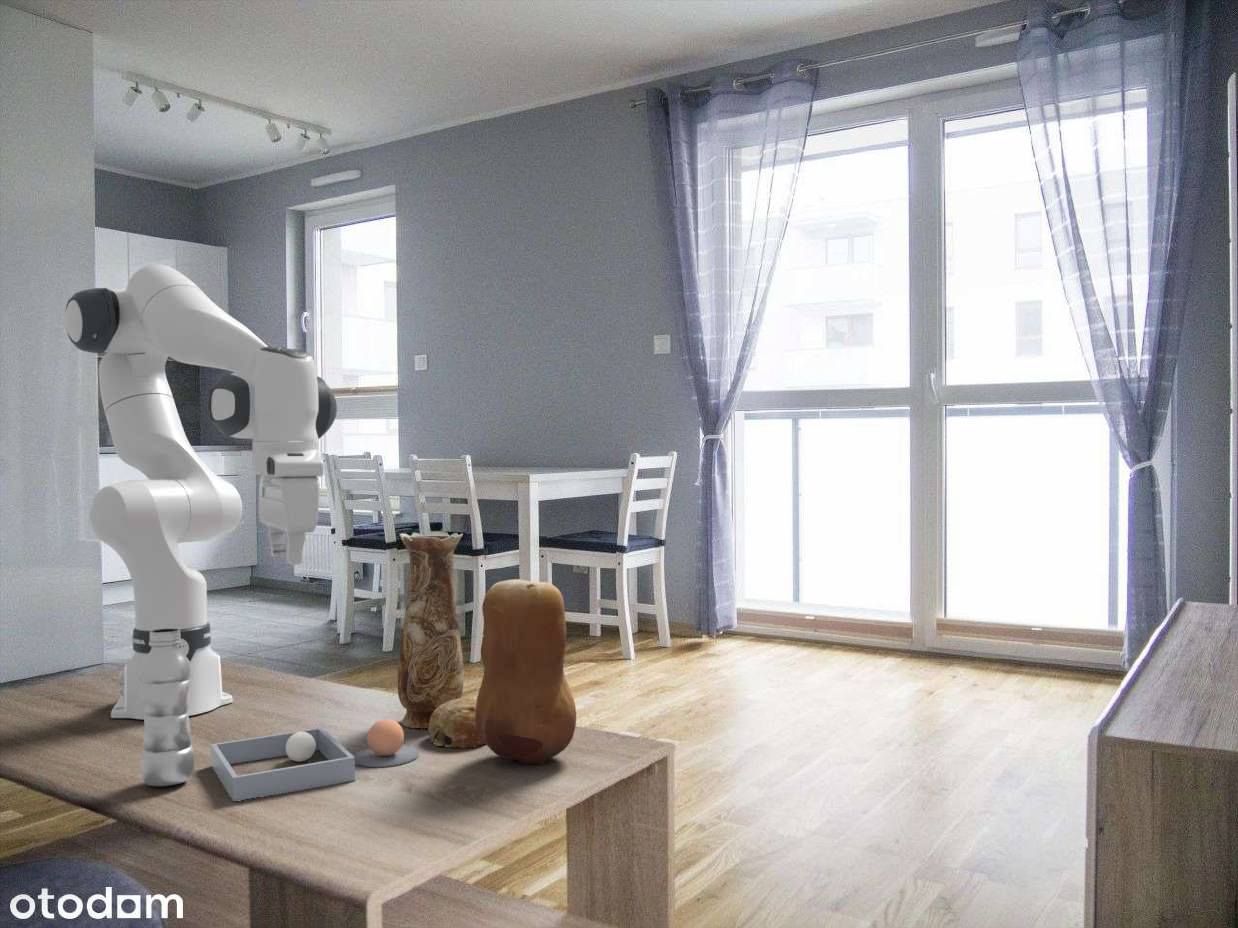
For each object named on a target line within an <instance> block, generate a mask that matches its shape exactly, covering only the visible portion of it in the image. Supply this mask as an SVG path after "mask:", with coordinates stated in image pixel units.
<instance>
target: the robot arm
mask: <svg viewBox="0 0 1238 928" xmlns="http://www.w3.org/2000/svg"><path fill="white" fill-rule="evenodd" d="M64 313H65V314H64V322H65V328H66V333H67V335H68V336H67V337H68V338H69V340H70V342H71V343H72V344H73V345H74V346H75V347H76V348H77V349H78V350H80V351H82V352H87V353H92V354H98V355H99V354H100V355H101V354H104V353H106V354H104V356H102V357H101V359H100V362H99V365H98V377H99V378H98V380H99V381H98V382H99V390H100V391H99V392H100V398H101V403H102V407H103V410H104V415H105V418H106V422H107V425H108V429H109V432H110V433H109V434H110V436H111V437H110V438H111V440H112V443H113V447H114V450H115V453H116V455H117V457H119V459H120V460H121V461H123V462H124V463H125V464H127V465H128V466H130V467H132V468H135V469H136V470H138V471H139V472H140V473H142V474H143V475H144V476H145V477H146V478H147V479H132V480H127V481H123V482H118V483H113V484H111V485H107V486H104V487H102V488H101V489H100V490H99V491H98V492H97V493H96V494H95V496H94V498H93V499H92V502H91V505H90V508H89V523H90V526H91V528H92V530H93V532H94V534H95V536H96V537H97V538H98V539H99V540H100V541H101V542H102V543H104V544H105V545H107V546H108V547H110V548H111V549H112V550H114V551H115V552H116V553H117V555H118V556H119V557H120V559H121V560H122V561H123V563H124V564H125V567H126V568H127V570H128V573H129V575H130V579H131V584H132V588H133V597H134V600H133V601H134V611H135V613H134V615H135V617H134V619H135V627H134V629H132V637H131V641H132V650H133V651H134V653H133V656H132V657H131V658H130V660H128V661H127V664H125V665H124V669H122V670H121V671H120V672H119V677H118V678H119V679H118V682H119V684H118V685H119V686H124V687H123V688H121V690H120V697H119V698H118V700H117V702H116V703H115V705H114V706H113V708H112V709H111V712H110V718H112V719H114V718H115V719H135V720H144V716H145V715H144V711H143V700H142V695H141V689H140V683H139V682H140V681H139V676H138V672H139V669H140V666H141V664H142V663H143V661H144V659H145V658H146V656H147V655H148V654H149V652H150V651H151V648H152V646H149V642H150V631H152V630H156V629H163V628H178V629H180V639H181V644H179V648H180V649H181V651H182V652H183V653H184V654H185V655H186V657H187V658H188V660H189V661H190V663H191V666H192V676H191V678H192V679H191V687H190V695H189V709H188V712H189V717H190V716H195V715H199V714H203V713H206V712H210V711H212V710H214V709H216V708H218V707H221V706H224V705H227V704H230V703H233V702H234V700H233V695H231V694H229V693H226V692H224V691H223V684H222V683H223V682H222V681H223V679H222V668H221V667H222V666H221V656H220V655H219V654H218V653H216V652H215V651H214V650H213V649H212V648H211V646H210V644H211V643H212V642H211V639H212V638H211V636H212V629H211V624H210V623H209V622H208V595H207V594H208V591H207V590H208V589H207V588H208V585H207V580H206V579H205V577H204V575H203V574H202V573H201V572H200V571H199V570H198V569H195V568H194V567H192V566H189V565H187V564H186V563H185V562H184V561H183V559H182V557H181V555H180V550H179V547H178V546H179V545H178V544H181V543H193V542H202V541H205V542H206V541H210V540H212V539H217V538H219V537H222V536H224V535H228V534H230V533H232V532H234V530H235V529H236V528H238V525H239V523H240V521H241V519H242V515H243V502H242V498H241V495H240V493H239V491H238V490H237V488H236V487H235V486H234V485H233V484H231V483H230V482H229V481H226V480H225V479H223V478H221V477H220V476H218V474H216V473H215V472H213V471H212V470H211V469H210V468H209V467H208V466H207V465H206V463H205V462H204V461H203V460H202V459H201V458H200V456H199V455H198V454H197V452H196V451H195V450H194V448H193V447H192V445H191V443H190V441H189V440H188V437H187V435H186V433H185V430H184V427H183V425H182V421H181V418H180V415H179V412H178V409H177V407H176V402H175V398H174V396H173V393H172V390H171V387H170V385H169V381H168V379H167V375H166V364H167V360H168V358H169V359H171V360H172V361H173V362H176V363H183V364H187V365H193V366H200V367H205V368H206V367H207V368H213V369H220V370H225V371H229V372H230V371H231V372H233V373H227V374H225V375H223V376H222V377H221V378H219V379H218V380H217V381H216V382H215V384H214V385H213V387H212V388H211V391H210V394H209V399H208V401H209V402H208V410H209V416H210V419H211V422H212V423H213V424H214V426H215V427H216V429H217V430H218V431H220V433H221V434H223V435H224V436H226V437H231V438H235V439H247V440H249V439H250V440H252V475H257V476H260V479H259V488H258V489H259V490H258V491H259V492H258V518H259V519H258V520H259V522H260V523H261V524H264V525H266V526H267V527H268V529H267V530H268V531H267V532H268V538H269V542H270V555H271V557H274V558H285V562H286V563H287V564H289V565H291V566H294V565H301V564H302V563H303V550H304V549H303V548H304V544H305V541H306V533H314V532H315V530H316V527H317V525H318V521H319V520H318V519H319V518H318V517H319V509H320V506H319V505H320V489H321V487H320V486H321V484H320V479H319V477H320V478H321V477H323V476H324V474H325V471H324V470H325V467H324V466H325V465H324V461H323V459H322V458H321V457H320V451H319V445H320V444H319V442H320V441H319V440H320V438H322V437H323V436H325V434H326V433H328V431H329V430H330V428H331V427H332V426H333V424H334V422H335V420H336V417H337V414H338V413H337V412H338V407H337V401H336V397H335V395H334V393H333V391H332V389H331V388H330V386H329V385H328V384H327V382H326V381H325V380H324V379H323V378H322V377H320V376H318V373H317V368H316V364H315V361H314V358H313V356H312V355H310V353H308V352H306V351H304V350H300V349H297V348H296V349H295V348H287V347H279V346H274V345H273V344H272V343H270V342H269V341H268V340H266V339H265V338H264V337H263V336H261V334H260V335H259V334H258V333H257V332H255V331H253V330H252V329H251V328H249V327H248V326H246V325H244V324H243V323H242V322H240V321H239V320H237V319H235V318H234V317H232V316H231V315H230V314H228V312H226V311H225V310H223V309H222V308H221V307H220V306H218V305H217V304H216V303H215V302H214V301H213V300H211V299H210V298H209V296H208V295H206V294H205V293H204V291H203V290H202V289H201V287H199V286H197V284H196V283H195V282H193V281H192V280H191V279H190V278H188V277H187V276H186V275H185V274H183V273H181V272H180V271H178V270H177V269H175V268H173V267H171V266H169V265H165V264H159V263H158V264H157V263H154V264H149V265H146V266H143V267H141V268H139V269H138V270H137V271H135V272H134V273H133V275H131V277H130V278H129V280H128V283H127V286H126V287H125V288H123V287H122V288H119V287H118V288H107V287H94V288H89V289H84V290H80V291H77V292H76V293H74V294H73V295H72V296H71V297H70V298H69V300H67V303H66V306H65V312H64ZM285 533H286V540H287V545H286V540H285Z"/></svg>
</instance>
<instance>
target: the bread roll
mask: <svg viewBox="0 0 1238 928" xmlns="http://www.w3.org/2000/svg"><path fill="white" fill-rule="evenodd" d="M476 702H477V699H473V698H470V697H461V698H459V699H454V700H451V701H448V702H446V703H444V704H442V705H440V706H439V707H438V708H437V709H435V711H434V712H433V713H432V715H431V717H430V721H429V724H428V729H427V730H428V734H429V736H428V737H429V738H430V739H429V740H430V742H431V743H432V744H433V743H435V744H434V746H435V745H436V746H447V747H448V748H449V747H460V748H461V747H473V748H475V747H474V746H478V747H481V746H480V745H482V746H484V745H483V744H485V742H484V740H483V739H482V737H481V735H480V734H479V732H478V730H477V729H476V727H475V724H476V719H475V713H476ZM485 745H486V744H485ZM436 746H435V747H436Z"/></svg>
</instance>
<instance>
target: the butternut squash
mask: <svg viewBox="0 0 1238 928" xmlns="http://www.w3.org/2000/svg"><path fill="white" fill-rule="evenodd" d="M481 608H482V611H481V612H482V617H483V632H482V634H483V637H482V638H483V639H482V643H481V645H480V656H481V660H482V663H483V668H484V669H483V677H482V681H481V684H480V686H479V687H480V688H479V690H478V692H477V693H478V694H477V697H476V701H477V702H476V713H475V719H476V724H475V727H476V729H477V730H478V732H479V734H480V735H481V737H482V739H483V740H484V742H485V745H486V747H488V748H489V749H490V750H491V751H492V752H493V753H494V754H495V755H497V756H498V757H500V758H505V759H508V760H509V759H510V760H514V761H515V760H516V761H518V762H519V763H521V764H522V765H525V766H527V765H536V764H537V765H538V764H539V765H542V764H543V763H545V761H547V760H549V759H552V758H553V757H556V756H558V755H559V754H560V753H561V752H564V750H565V749H566V748H567V747H568V746H569V744H570V743H571V741H572V740H573V737H574V734H575V730H576V726H577V709H576V703H575V700H574V696H573V693H572V690H571V688H570V685H569V683H568V680H567V678H566V675H565V672H564V661H565V660H564V659H565V652H566V648H567V647H566V646H567V623H566V621H567V620H566V612H565V611H566V610H565V602H564V596H563V595H562V592H561V591H560V590H559V589H558V587H556V586H555V584H552V583H550V582H545V581H541V582H540V581H539V582H538V581H530V580H525V579H520V578H518V579H516V578H515V579H506V580H502V581H498V582H496V583H494V584H493V585H492V586H491V587H490V588H489V589H488V591H486V593H485V595H484V598H483V602H482V606H481Z"/></svg>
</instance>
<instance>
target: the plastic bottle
mask: <svg viewBox="0 0 1238 928" xmlns="http://www.w3.org/2000/svg"><path fill="white" fill-rule="evenodd" d="M179 644H181V639H180V629H178V628H163V629H156V630H152V631H150V642H149V646H152V648H151V651H150V652H149V654H148V655H147V656H146V658H145V659H144V661H143V663H142V664H141V666H140V669H139V672H138V676H139V681H140V682H139V683H140V689H141V695H142V700H143V711H144V715H145V716H144V719H143V720H144V721H143V722H144V727H143V728H144V729H143V730H144V731H143V741H142V742H143V744H142V751H141V756H140V763H139V769H140V771H139V772H140V775H141V779H142V781H144V783H145V784H146V786H147V785H148V786H151V787H169V786H174V785H178V784H182V783H185V782H187V781H188V780H190V778H191V777H192V775H193V773H194V771H195V763H196V758H195V750H194V748H193V745H192V737H191V729H190V719H189V718H190V716H189V712H188V709H189V695H190V687H191V679H192V678H191V676H192V666H191V663H190V661H189V660H188V658H187V657H186V655H185V654H184V653H183V652H182V651H181V649H180V648H179Z"/></svg>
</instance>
